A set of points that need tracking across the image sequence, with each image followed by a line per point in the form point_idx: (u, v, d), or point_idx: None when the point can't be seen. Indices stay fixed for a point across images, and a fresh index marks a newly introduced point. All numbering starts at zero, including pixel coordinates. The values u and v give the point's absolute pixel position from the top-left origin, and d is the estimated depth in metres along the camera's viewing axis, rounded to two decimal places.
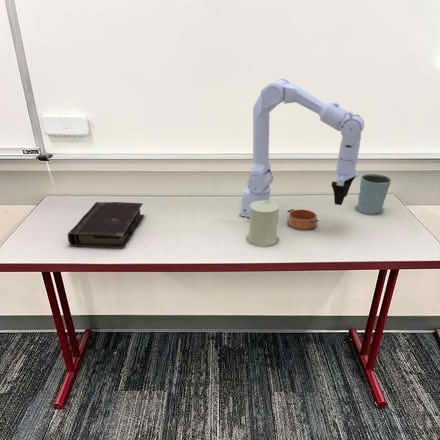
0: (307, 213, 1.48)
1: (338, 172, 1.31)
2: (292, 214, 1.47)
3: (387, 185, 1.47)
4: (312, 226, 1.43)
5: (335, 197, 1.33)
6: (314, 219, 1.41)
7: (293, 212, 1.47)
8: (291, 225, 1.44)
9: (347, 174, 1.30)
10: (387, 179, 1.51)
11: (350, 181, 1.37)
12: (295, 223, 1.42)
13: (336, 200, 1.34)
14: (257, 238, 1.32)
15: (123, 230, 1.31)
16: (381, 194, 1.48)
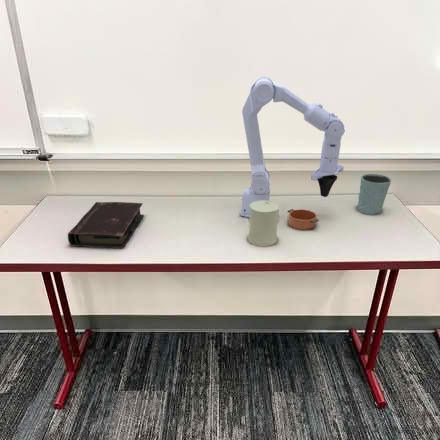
0: (307, 213, 1.48)
1: (319, 168, 1.41)
2: (292, 214, 1.47)
3: (387, 185, 1.47)
4: (312, 226, 1.43)
5: (320, 188, 1.46)
6: (314, 219, 1.41)
7: (293, 212, 1.47)
8: (291, 225, 1.44)
9: (325, 171, 1.39)
10: (387, 179, 1.51)
11: None
12: (295, 223, 1.42)
13: (321, 192, 1.46)
14: (257, 239, 1.32)
15: (123, 230, 1.31)
16: (381, 194, 1.48)
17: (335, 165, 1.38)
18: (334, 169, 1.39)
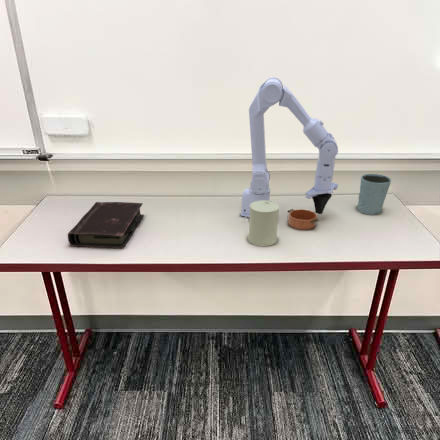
0: (307, 213, 1.48)
1: (314, 186, 1.44)
2: (292, 214, 1.47)
3: (387, 185, 1.47)
4: (312, 226, 1.43)
5: (315, 206, 1.48)
6: (314, 219, 1.41)
7: (293, 212, 1.47)
8: (291, 225, 1.44)
9: (319, 189, 1.42)
10: (387, 179, 1.51)
11: None
12: (295, 223, 1.42)
13: (316, 209, 1.49)
14: (257, 239, 1.32)
15: (123, 230, 1.31)
16: (381, 194, 1.48)
17: (329, 184, 1.41)
18: (328, 188, 1.42)
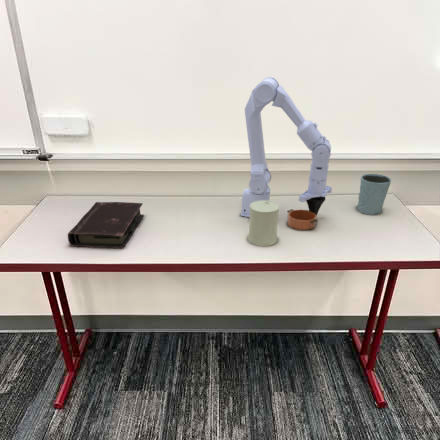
0: (306, 213, 1.47)
1: (307, 190, 1.42)
2: (291, 214, 1.47)
3: (387, 185, 1.47)
4: (311, 226, 1.42)
5: (309, 209, 1.47)
6: (313, 219, 1.41)
7: (292, 212, 1.47)
8: (290, 225, 1.43)
9: (313, 193, 1.41)
10: (387, 179, 1.51)
11: None
12: (294, 223, 1.42)
13: None
14: (257, 239, 1.32)
15: (123, 230, 1.31)
16: (381, 194, 1.48)
17: (323, 187, 1.40)
18: (322, 191, 1.40)
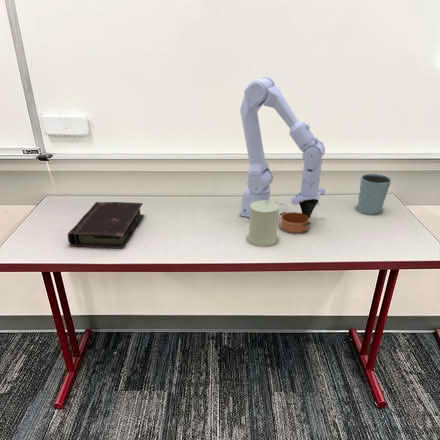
0: (299, 216, 1.45)
1: (300, 192, 1.41)
2: (284, 217, 1.45)
3: (387, 185, 1.47)
4: (304, 229, 1.41)
5: (302, 212, 1.45)
6: (306, 222, 1.39)
7: (285, 215, 1.45)
8: (283, 228, 1.42)
9: (306, 195, 1.39)
10: (387, 179, 1.51)
11: None
12: (287, 226, 1.40)
13: None
14: (257, 239, 1.32)
15: (123, 230, 1.31)
16: (381, 194, 1.48)
17: (316, 189, 1.38)
18: (315, 193, 1.38)
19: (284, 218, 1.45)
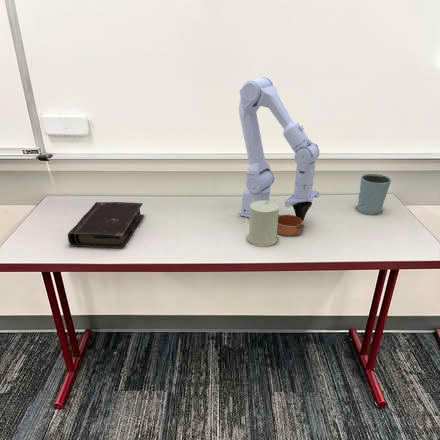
0: (293, 218, 1.44)
1: (294, 194, 1.39)
2: (278, 219, 1.43)
3: (387, 185, 1.47)
4: (298, 232, 1.39)
5: (295, 214, 1.43)
6: (300, 225, 1.37)
7: (279, 217, 1.43)
8: None
9: (299, 197, 1.37)
10: (387, 179, 1.51)
11: None
12: (280, 229, 1.38)
13: None
14: (257, 239, 1.32)
15: (123, 230, 1.31)
16: (381, 194, 1.48)
17: (309, 192, 1.36)
18: (308, 196, 1.37)
19: None
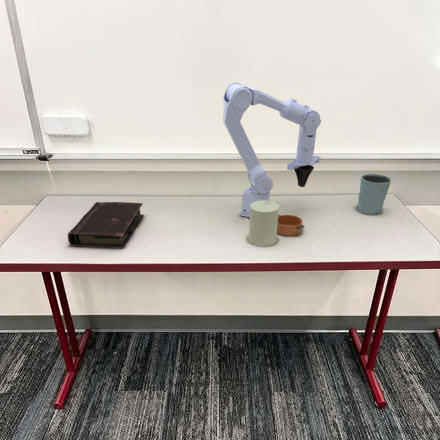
0: (293, 218, 1.44)
1: (296, 159, 1.45)
2: (278, 219, 1.43)
3: (387, 185, 1.47)
4: (298, 232, 1.39)
5: (297, 179, 1.49)
6: (300, 225, 1.37)
7: (279, 217, 1.43)
8: None
9: (301, 161, 1.43)
10: (387, 179, 1.51)
11: None
12: (280, 229, 1.38)
13: (298, 182, 1.49)
14: (257, 239, 1.32)
15: (123, 230, 1.31)
16: (381, 194, 1.48)
17: (311, 155, 1.42)
18: (310, 159, 1.43)
19: None
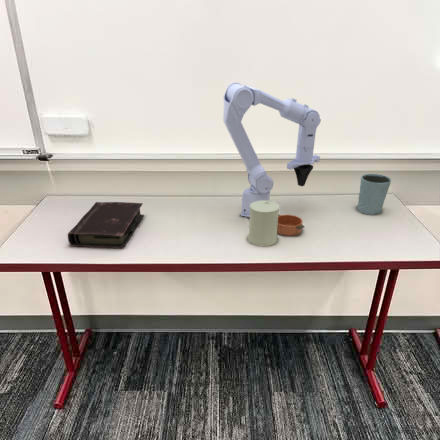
0: (293, 218, 1.44)
1: (295, 158, 1.45)
2: (278, 219, 1.43)
3: (387, 185, 1.47)
4: (298, 232, 1.39)
5: (297, 178, 1.50)
6: (300, 225, 1.37)
7: (279, 217, 1.43)
8: None
9: (301, 160, 1.43)
10: (387, 179, 1.51)
11: None
12: (280, 229, 1.38)
13: (298, 181, 1.50)
14: (257, 238, 1.32)
15: (123, 230, 1.31)
16: (381, 194, 1.48)
17: (310, 155, 1.43)
18: (309, 159, 1.43)
19: None
